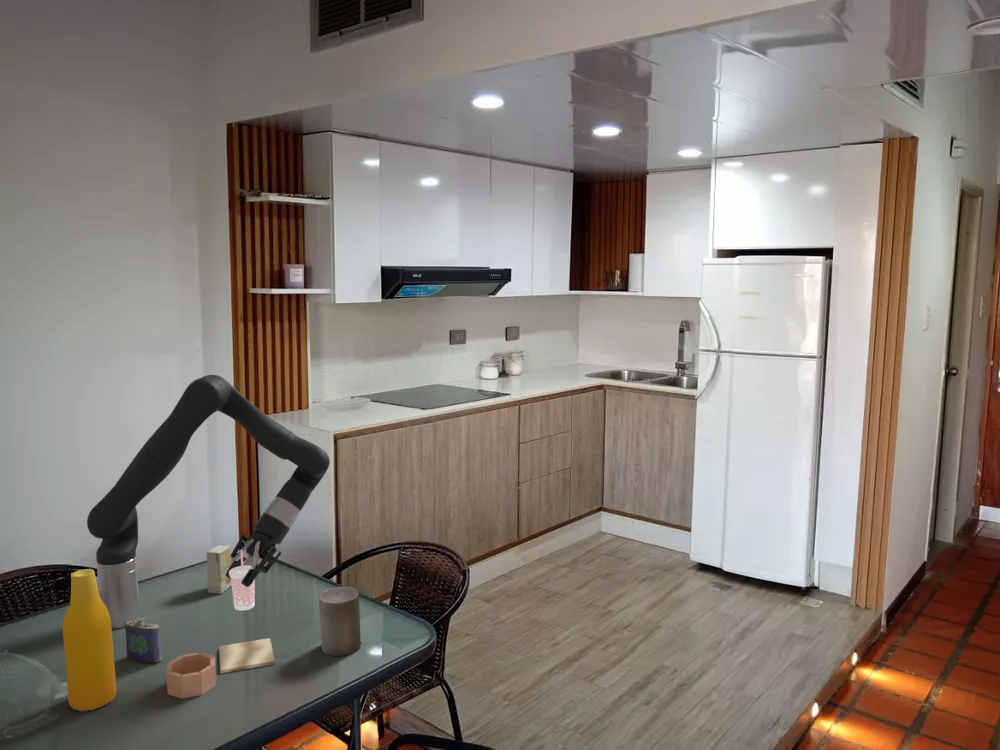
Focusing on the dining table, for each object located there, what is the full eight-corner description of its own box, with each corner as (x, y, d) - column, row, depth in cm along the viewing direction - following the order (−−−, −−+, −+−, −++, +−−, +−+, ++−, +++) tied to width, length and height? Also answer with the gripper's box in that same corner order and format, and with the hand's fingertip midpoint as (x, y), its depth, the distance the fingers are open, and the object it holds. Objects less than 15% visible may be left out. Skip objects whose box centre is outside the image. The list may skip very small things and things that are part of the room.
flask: (164, 659, 185) (161, 617, 183) (155, 665, 182) (152, 622, 181) (131, 654, 188) (128, 612, 186) (122, 660, 185) (119, 618, 183)
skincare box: (221, 594, 221) (219, 553, 219) (207, 593, 222) (205, 552, 220) (233, 585, 227) (231, 545, 225) (220, 584, 228) (217, 544, 226)
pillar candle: (368, 642, 194) (366, 585, 192) (345, 660, 185) (343, 600, 183) (336, 634, 198) (334, 578, 196) (312, 651, 189) (309, 593, 187)
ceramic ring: (167, 701, 168) (165, 679, 167) (169, 678, 177) (167, 657, 176) (216, 692, 171) (215, 671, 170) (215, 670, 180) (214, 649, 180)
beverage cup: (242, 614, 181) (239, 556, 179) (225, 608, 184) (222, 551, 182) (263, 604, 186) (260, 548, 184) (246, 598, 189) (243, 543, 187)
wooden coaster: (220, 673, 179) (220, 670, 179) (219, 649, 190) (219, 646, 190) (274, 664, 183) (274, 661, 183) (270, 641, 194) (270, 638, 194)
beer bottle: (66, 716, 162) (55, 584, 158) (71, 694, 170) (60, 568, 166) (115, 706, 166) (106, 577, 161) (117, 685, 174) (108, 561, 170)
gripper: (250, 506, 192) (208, 566, 184) (285, 518, 183) (243, 582, 175) (269, 521, 197) (230, 580, 189) (304, 534, 188) (264, 596, 180)
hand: (236, 581), depth 182 cm, fingers closed on beverage cup, 6 cm apart
